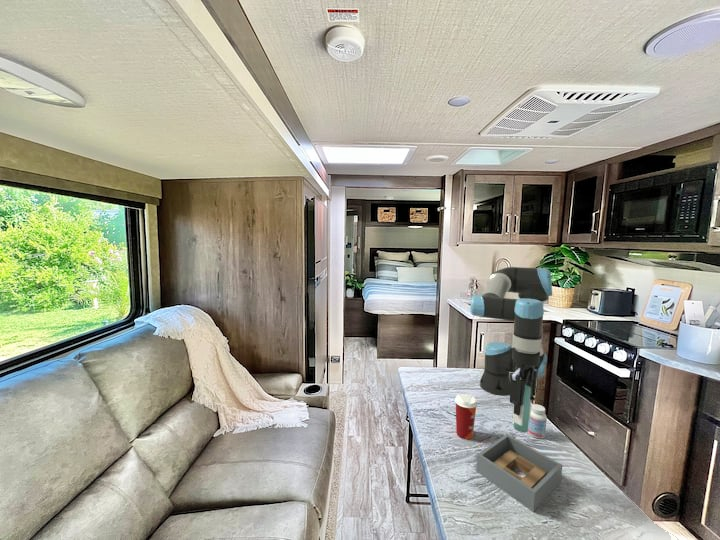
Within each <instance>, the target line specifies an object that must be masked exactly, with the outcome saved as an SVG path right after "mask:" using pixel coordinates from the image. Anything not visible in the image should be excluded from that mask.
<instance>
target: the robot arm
mask: <svg viewBox="0 0 720 540" xmlns="http://www.w3.org/2000/svg"><path fill="white" fill-rule="evenodd" d="M552 283H553V282H552V273H551V271H550V270H549V269H547V268H541V267H517V266H508V267H503V268H501V269H497V270H496V271H494V272H493V273H491V274H490V276H489V277H488V279H487V286H486V287H485V290H484V291H483V293H482V294H479V295H477V294H476V295H473V296H472V297H471V299H470V308H469V309H470V313H471V315H472V316H475V317H480V318H487V319H495V320H502V321H503V320H504V321H511V322H513V335H512V345H511V344H510V343H507V342H504V341H493V342H489V343H488V344H486V346H485V351H484V369H483V373H482V375H481V378H480V380H479V387H480V388H481V389H482V390H484V391H486V392H487V393H488V394H489V393H490V394H492V395H497V396H507V395H509V403H510V404H513V410H512V411H513V412H512V422H513V423H514V422H515V423H517V424H519V425H521V426H522V425H523V411H524V405H522V403H523V397H524V391H525V385H528V386H530V387H531V395H530V409H529V420H530V413H531V410H532V409H531V407H532V401H535V400H536V397H535V396H536V392H537V381H538V378H542V377H543V375H544V373H545V370H546V366H547V365H546V364H547V360H548V359H547V358H548V356H547V354H546V353H544V349H543V348H542V332H543V331H542V329H543V321H544V312H545V311H544V304H545V302H547V301H548V299H549V297H552V296H553V286H552ZM506 293H514V294H517V295H518V298H505V296H506ZM512 346H513V347H512Z"/></svg>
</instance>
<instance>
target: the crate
mask: <svg viewBox="0 0 720 540" xmlns="http://www.w3.org/2000/svg"><path fill="white" fill-rule="evenodd" d="M509 450H511V451H513V452H515V453H516V454H518V455H520V456H521V457H523V458H525V459H526V460H528V461H530V462H531V463H533V464H535V465H536V466H538V467H540V468H542V469H543V470H545V471H547V475H546V476H545V477H544V478H543V479H542V480H541V481H540V482H539V483H538V484H537V485H536V486H535V487H534V488H533V489H532V488H531V487H529V486H528V485H526V484H525V483H523V482H522V481H520V480H519V479H517V478H516V477H514V476H513V475H511V474H510V473H508V472H507V471H505V470H504V469H502V468H501V467H499V466H498V465H496V464H495V463H493V462H495V461H496V460H497V459H498V458H500V457H501V456H502V455H504V454H505V453H506V452H508V451H509ZM476 472H477V473H478V474H480V475H481V476H482V477H484V478H485V479H486V480H488V481H490V482H491V483H492V484H493V485H495V486H496V487H498V488H500V489H501V490H502V491H503V492H504V493H506V494H507V495H509V496H510V497H511V498H513V499H514V500H516V501H517V502H519V504H521V505H523V506H524V507H526V508H527V509H528V510H529V511H531V512H532V513H534V512H535V511H536V510H537V509H538V508H539V506H541V505H542V503H543V502H544V501H545V500H546V499H547V498H548V497H549V496H550V495H551V494H552V493H553V491H554V490H556V488H557V487H558V486H559V485H560V484H561V483H562V473H563V464H562V463H559V462H558V461H556V460H554V459H552V458H551V457H550V456H547V455H546V454H544V453H542V452H540V451H538V450H536V449H534V448H533V447H531V446H530V445H528V444H525V443H523V442H522V441H520V440H519V439H517V438H515V437H513V436H511V435H509V434H507V433H506V434H504V435H502V437H500V438H498V439H497V440H496V441H495V442H492V444H490V445H489V446H487V447H486V448H485V449H483V450H482V451H480V452H479V453H477V455H476Z"/></svg>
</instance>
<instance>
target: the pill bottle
mask: <svg viewBox="0 0 720 540" xmlns="http://www.w3.org/2000/svg"><path fill="white" fill-rule="evenodd" d="M547 419H548V418H547V415H546V408H545V406H543V405H540V404H537V403H535V404H534V403H533V404H531V413H530V420H529V423H528V432H527V433H528V435H530V436H531V437H533V438H536V439H540V440H541V439H544V438H545V437H546V431H547V421H548V420H547Z"/></svg>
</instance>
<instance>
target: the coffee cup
mask: <svg viewBox="0 0 720 540" xmlns="http://www.w3.org/2000/svg"><path fill="white" fill-rule="evenodd" d="M454 403H455V425H456V427H455V430H456V435H457V436H458V438H460V439H462V440H465V441H466V440H471V439H473V437H474V436H473V434H474V427H475V419H476V410H477V406H478V402H477V399H476V398H475V396H473V395H470V394H469V393H468V394H467V393H460V394H459V393H458V394H457V395H456V397H455V399H454Z"/></svg>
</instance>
